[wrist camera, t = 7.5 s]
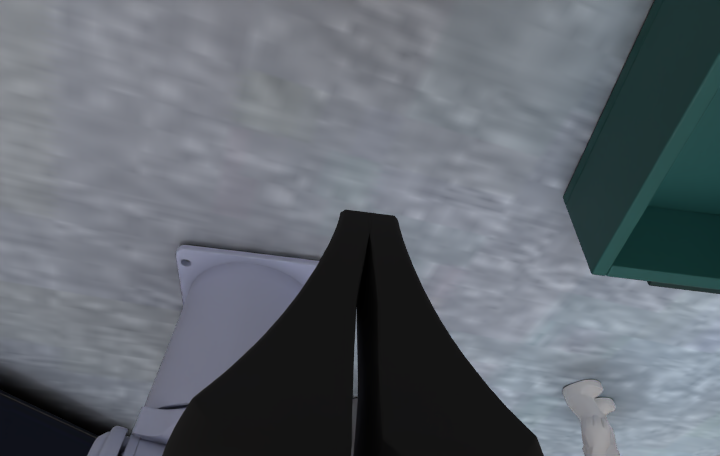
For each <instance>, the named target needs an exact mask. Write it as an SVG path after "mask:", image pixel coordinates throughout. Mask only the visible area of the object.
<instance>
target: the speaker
mask: <svg viewBox="0 0 720 456" xmlns="http://www.w3.org/2000/svg"><path fill="white" fill-rule="evenodd" d="M97 437H99V436H98V435H95V434H93V433H91V432H89V431H87V430H85V429H83V428H81V427H78V426H76V425H74V424H72V423H70V422H68V421H66V420H63V419H61V418H59V417H57V416H55V415H53V414H51V413H49V412H46V411H44V410H42V409H40V408H38V407H36V406H34V405H31V404H29V403H27V402H25V401H23V400H21V399H19V398H17V397H14V396H12V395H10V394H8V393H6V392H4V391H2V390H0V456H87V455H88V453H89V451H90V449H91V447H92V445H93V443H94V441H95V440H96V438H97Z"/></svg>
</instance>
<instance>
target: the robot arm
mask: <svg viewBox="0 0 720 456" xmlns="http://www.w3.org/2000/svg"><path fill="white" fill-rule="evenodd" d="M185 259H186V260H189V261H186V260H185ZM176 260H177V266H178V273H179V280H180V286H181V293H182V300H183V309H182V311H181V314H180V316H179V319H178V321H177V324H176V327H175V329H174V332H173V334H172V337H171V339H170V342H169V344H168V347H167V350H166V352H165V355H164V357H163V360H162V362H161V365H160V368H159V370H158V373H157V375H156V378H155V380H154V383H153V386H152V388H151V391H150V393H149V396H148V398H147V401H146V403H145V406H144V407H142V408H141V410H140V413H139V415H138V418H137V420H136V423H135V425H134V428H133V430H132V433H131V435H130V437H128V436H126V435H127V432H128V429H127V428H124V427H121V426H115V427H113V428H112V430H111V431H110V432H106V433H104V434H102V435H101V436H99V437H97V438H96V440H95V441H94V443H93V445H92V447H91V449H90V451H89V453H88V455H87V456H351V448H352V403H353V367H354V342H355V321H356V308H357V349H358V403H357V416H356V428H355V441H354V453H353V456H544V455H543V453H542V450H541V447H540V444H539V442H538V439H537V437H536V436H535V435H534V434H533V433H532V432H531V431H530V430H529V429H528V428H527V427H526V426H525V425H524V424H523V423H522V422H521V421H520V420H519V419H518V418H517V417H516V416H515V415H514V414H513V413H512V412H511V411H510V410H509V409H508V408H507V407H506V406H505V405H504V404H503V403H502V401H501V400H500V399H499V398H498V397H497V396H496V395H495V393H494V392H493V391H492V390H491V389H490V388H489V387H488V386H487V384H486V383H485V382H484V380H483V379H482V378H481V377H480V375H479V374H478V373H477V372H476V370H475V369H474V368H473V367H472V365H471V364H470V363H469V361H468V360H467V359H466V358H465V356H464V355H463V354H462V352H461V351H460V349H459V348H458V346H457V345H456V343H455V342H454V341H453V339H452V338H451V336H450V335H449V333H448V331H447V330H446V328H445V327H444V325H443V323H442V322H441V320H440V318H439V317H438V315H437V313H436V311H435V310H434V308H433V306H432V304H431V302H430V300H429V299H428V297H427V295H426V293H425V291H424V289H423V287H422V285H421V283H420V280H419V278H418V276H417V274H416V271H415V269H414V267H413V265H412V262H411V260H410V257H409V255H408V252H407V249H406V246H405V244H404V241H403V238H402V234H401V231H400V227H399V223H398V220H397V218H396V217H395V216H392V215H384V214H376V213H368V212H360V211H352V210H344V211H343V212H341V213H340V217H339V221H338V224H337V227H336V230H335V232H334V234H333V236H332V239H331V241H330V243H329V245H328V247H327V249H326V250H325V252H324V254H323V256H322V258H321V259H320V261H316V260H308V259H300V258H291V257H283V256H275V255H266V254H258V253H250V252H242V251H233V250H225V249H217V248H208V247H200V246H192V245H181V246H179V247H178V249H177V251H176Z"/></svg>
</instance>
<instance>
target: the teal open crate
mask: <svg viewBox="0 0 720 456" xmlns="http://www.w3.org/2000/svg"><path fill="white" fill-rule="evenodd" d="M563 199H564V202H565V204H566V207H567V210H568V212H569V215H570V218H571V220H572V223H573V226H574V228H575V231H576V234H577V236H578V239H579V242H580V244H581V247H582V250H583V252H584V255H585V258H586V260H587V263H588V266H589V268H590V271H591V273H592V274H594V275H603V276H605V275H606V276H611V277H619V278H627V279H635V280H643V281H647V282H648V284H649V285H651V286H659V287H667V288H675V289H683V290H691V291H700V292H708V293H716V294H720V0H655V1H654V4H653V6H652V8H651V10H650V12H649V14H648V16H647V19H646V21H645V23H644V25H643V27H642V29H641V31H640V34H639V36H638V38H637V40H636V42H635V44H634V46H633V49H632V51H631V53H630V55H629V57H628V59H627V61H626V64H625V66H624V68H623V70H622V72H621V74H620V76H619V79H618V81H617V83H616V85H615V87H614V89H613V91H612V94H611V96H610V98H609V100H608V102H607V104H606V106H605V109H604V111H603V113H602V115H601V117H600V119H599V121H598V124H597V126H596V128H595V130H594V132H593V134H592V136H591V139H590V141H589V143H588V145H587V147H586V149H585V151H584V154H583V156H582V158H581V160H580V162H579V164H578V166H577V169H576V171H575V173H574V175H573V177H572V179H571V181H570V184H569V186H568V188H567V190H566V192H565V194H564V196H563Z"/></svg>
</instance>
